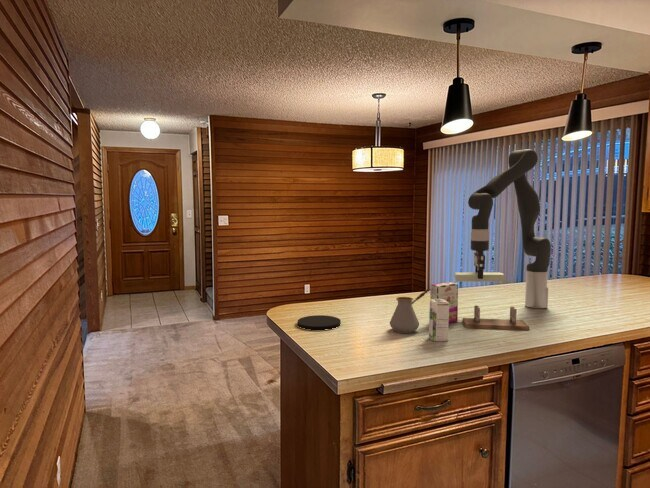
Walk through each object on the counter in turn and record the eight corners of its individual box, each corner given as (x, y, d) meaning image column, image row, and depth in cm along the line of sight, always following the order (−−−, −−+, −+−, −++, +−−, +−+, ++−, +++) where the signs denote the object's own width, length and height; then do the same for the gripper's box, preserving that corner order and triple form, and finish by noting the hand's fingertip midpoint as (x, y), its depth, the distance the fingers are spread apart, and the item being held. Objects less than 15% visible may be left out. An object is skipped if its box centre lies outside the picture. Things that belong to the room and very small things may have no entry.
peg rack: (522, 323, 188) (523, 305, 187) (529, 330, 178) (529, 311, 178) (462, 321, 192) (462, 303, 191) (465, 327, 182) (466, 309, 182)
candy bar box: (449, 319, 195) (450, 281, 194) (457, 322, 191) (458, 283, 189) (429, 322, 190) (429, 284, 189) (437, 325, 186) (438, 286, 184)
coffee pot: (405, 336, 171) (405, 297, 169) (383, 330, 180) (383, 292, 178) (441, 326, 184) (441, 290, 182) (419, 321, 193) (419, 286, 191)
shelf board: (500, 279, 202) (501, 272, 201) (504, 281, 196) (504, 274, 196) (454, 279, 204) (454, 272, 204) (456, 281, 198) (456, 274, 198)
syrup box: (428, 337, 170) (428, 298, 169) (443, 336, 171) (444, 298, 169) (433, 341, 164) (433, 302, 163) (448, 341, 165) (449, 301, 164)
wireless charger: (336, 318, 198) (336, 314, 198) (344, 330, 181) (344, 325, 181) (295, 321, 195) (295, 316, 195) (300, 332, 178) (300, 327, 178)
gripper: (491, 240, 191) (491, 280, 192) (485, 237, 205) (485, 274, 206) (473, 240, 192) (472, 280, 194) (468, 237, 206) (467, 274, 208)
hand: (479, 277), depth 200 cm, fingers closed on shelf board, 6 cm apart
